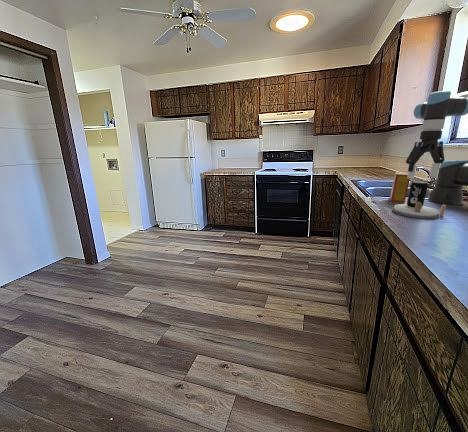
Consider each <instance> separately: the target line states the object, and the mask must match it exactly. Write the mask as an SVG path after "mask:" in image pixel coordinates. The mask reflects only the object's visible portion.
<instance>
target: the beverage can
mask: <svg viewBox="0 0 468 432" xmlns="http://www.w3.org/2000/svg"><path fill="white" fill-rule="evenodd" d="M411 182H412V183H411V184H410V187H409V190H408V191H409V192H408V195H407V200H406V204H407V205H408V206H410V207H415V203H416V201H420V202H421V203H422V206H424V203H425V200H426V199H425V198H426V196H427V191H428V187H429V185H428V182H427V181H423V180H413V181H411ZM422 206H421V207H422Z"/></svg>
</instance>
